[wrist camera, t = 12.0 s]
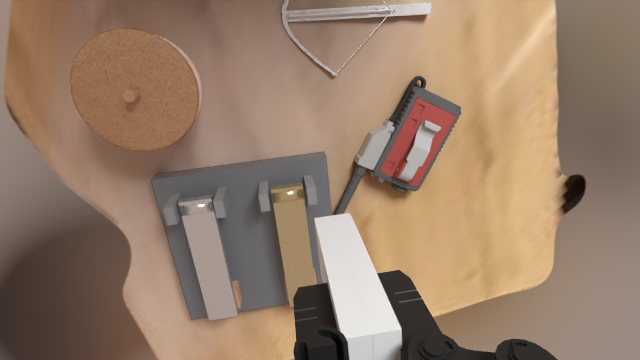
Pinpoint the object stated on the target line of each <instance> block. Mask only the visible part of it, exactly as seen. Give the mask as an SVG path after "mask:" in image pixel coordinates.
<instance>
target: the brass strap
mask: <svg viewBox="0 0 640 360" xmlns="http://www.w3.org/2000/svg"><path fill="white" fill-rule="evenodd" d="M271 193H272V199H273V206H274V212H275V218H276V224H277V230H278V236H279V243H280V249H281V255H282V261H283V267H284V273H285V280H286V286H287V292H288V298H289V304H290V307H294V304H293V298H294V295H295V293H296V291H297V289H298V287H304V286H310V285H315V279H314V271H313V263H312V255H311V247H310V240H309V232H308V224H307V216H306V208H305V200H304V193H303V185H302V182H301V183H294V184H287V185H279V186H272V187H271Z"/></svg>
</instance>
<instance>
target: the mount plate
mask: <svg viewBox="0 0 640 360" xmlns="http://www.w3.org/2000/svg"><path fill="white" fill-rule="evenodd" d="M301 182H302V185H303V193H304V200H305V208H306V216H307V224H308V232H309V240H310V247H311V255H312V263H313V271H314V279H315V285H316V284H322V283H323V281H322V276H321V270H320V262H319V254H318V246H317V237H316V229H315V221H314V218H318V217H325V216H332V210H331V200H330V190H329V180H328V170H327V160H326V155H325V153H324V152H318V153H311V154H303V155H296V156H288V157H281V158H273V159H266V160H258V161H251V162H243V163H236V164H228V165H221V166H213V167H206V168H198V169H191V170H183V171H176V172H168V173H161V174H156V175H155V176H154V177H153V178H152V179H151V183H152V186H153V189H154V193H155V196H156V200H157V203H158V207H159V210H160V214H161V217H162V220H163V224H164V227H165V231H166V234H167V238H168V241H169V245H170V248H171V252H172V255H173V258H174V262H175V265H176V269H177V272H178V276H179V279H180V283H181V286H182V289H183V293H184V296H185V300H186V303H187V307H188V310H189V314H190V317H191V320H195V319H201V318H207V317H208V314H207V310H206V306H205V303H204V299H203V295H202V291H201V287H200V284H199V280H198V276H197V272H196V269H195V265H194V261H193V257H192V253H191V250H190V246H189V242H188V238H187V234H186V231H185V227H184V223H183V219H182V216H181V213H180V208H179V204H178V202H179V201H180V199H186V198H193V197H200V196H208V195H213V199H214V200H213V204H214V209H215V213H216V217H217V218H218V222H219V226H220V230H221V235H222V239H223V244H224V248H225V253H226V257H227V262H228V266H229V270H230V275H231V279H232V284H233V288H234V293H235V297H236V301H237V306H238V310H239V311H238V312H243V311H249V310H255V309H261V308H267V307H273V306H280V305H286V304H289V298H288V292H287V286H286V280H285V273H284V267H283V261H282V255H281V249H280V243H279V236H278V230H277V224H276V218H275V212H274V206H273V199H272V193H271V187H272V186H279V185H287V184H294V183H301Z"/></svg>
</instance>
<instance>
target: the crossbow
mask: <svg viewBox="0 0 640 360" xmlns="http://www.w3.org/2000/svg"><path fill="white" fill-rule="evenodd" d="M382 1H383V2H384V3H385V4H386V5H378V6H360V7H342V8H324V9H304V10H288V11H286V10H287V6H288V2H289V0H285V1H284V4H283V5H282V9H281V11H282V23H283V25H284V27H285V29H286V31H287V32H288V34H289V36H290V37H291V38H292V39H293V40H294V41H295V43H296V44H297V45H298V46H299V47H300V48H301V49H302V50H303V51H304V52H305V53H306V54H307V55H309V56H310V57H311V58H312V59H313V60H314V61H315V62H316V63H318V64H319V65H321V66H322V67H323V68H325V69H326V70H328V71H329V72H331V74H332V75H333V76H335V75H336V74H337V73H338V72H339V71H340V69H341V68H342V67H343V66H344V65H345V64H346V63H347V62H348V60H349V59H350V58H351V57H352V56H353V55H354V54H355V53H356V51H357V50H358V49H359V48H360V47H361V46H362V45H363V44H364V42H365V41H366V40H367V39H368V38H369V37H370V36H371V35H372V33H373V32H374V31H375V30H376V29H377V28H378V27H379V26H380V24H381V23H382V22H383V21H384V20H385V19H386V18H387V17H389V16H390V17H391V16H409V15H427V14H431V3H417V4H396V5H388V4H387V3H386V2H385V1H384V0H382ZM371 17H385V19H384V20H383V21H382V22H381V23H380V24H379V25H378V26H377V28H376V29H375V30H374V31H373V32H372V33H371V34H370V35H369V37H368V38H367V39H366V40H365V41H364V42H363V43H362V44H361V46H360V47H359V48H358V49H357V50H356V51H355V52H354V53H353V55H352V56H351V57H350V58H349V59H348V60H347V61H346V62H345V64H344V65H343V66H342V67H341V68H340V69H339V70H338V71H337V73H335V72H334V71H332V70H331V69H329V68H328V67H327V66H325V65H324V64H322V63H321V62H320V61H319V60H317V59H316V58H315V57H314V56H313V55H312V54H311V53H310V52H309V51H307V50H306V49H305V48H304V47H303V45H302V44H301V43H300V42H299V41H298V40H297V39H296V38H295V37H294V35H293V33H292V32H291V30H290V28H289V25H288V23H287V22H298V21H316V20H335V19H354V18H371Z"/></svg>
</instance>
